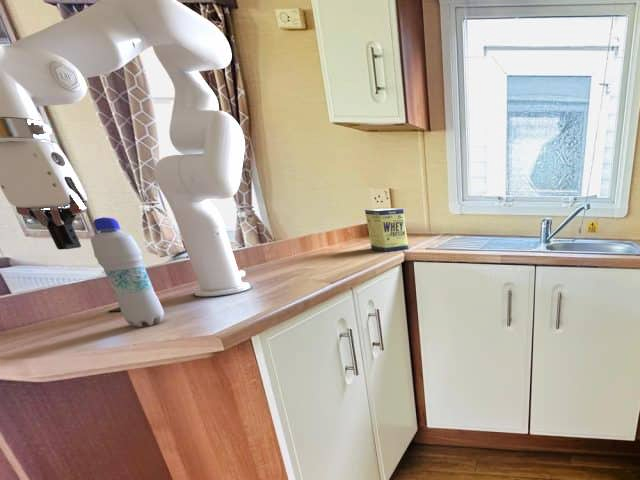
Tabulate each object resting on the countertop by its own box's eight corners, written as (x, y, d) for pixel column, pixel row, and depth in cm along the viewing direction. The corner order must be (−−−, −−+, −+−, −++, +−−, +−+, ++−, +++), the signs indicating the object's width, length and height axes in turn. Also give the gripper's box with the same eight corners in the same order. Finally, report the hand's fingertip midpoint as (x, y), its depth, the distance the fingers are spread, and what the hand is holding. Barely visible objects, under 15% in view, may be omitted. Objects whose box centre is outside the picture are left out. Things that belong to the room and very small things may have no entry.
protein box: (385, 251, 170) (379, 210, 164) (370, 248, 181) (364, 209, 175) (409, 248, 176) (403, 208, 169) (393, 245, 187) (387, 208, 180)
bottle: (163, 316, 89) (122, 215, 81) (172, 322, 85) (130, 216, 77) (123, 325, 85) (75, 218, 76) (131, 330, 81) (81, 219, 72)
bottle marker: (125, 306, 99) (124, 305, 99) (147, 305, 100) (147, 303, 100) (108, 312, 95) (108, 310, 95) (132, 310, 95) (131, 309, 95)
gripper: (82, 134, 74) (127, 243, 82) (-9, 137, 73) (45, 247, 81) (42, 129, 67) (96, 249, 75) (-58, 132, 66) (6, 253, 74)
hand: (69, 248), depth 78 cm, fingers closed
